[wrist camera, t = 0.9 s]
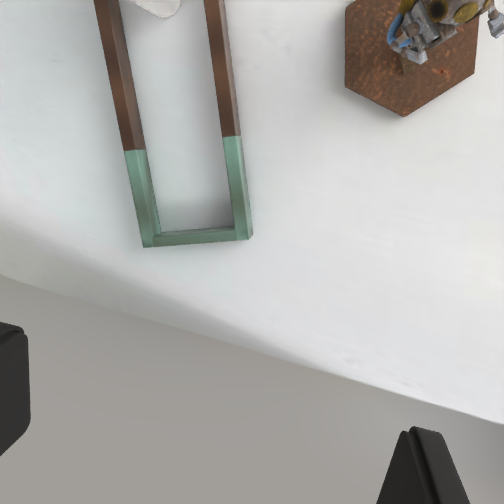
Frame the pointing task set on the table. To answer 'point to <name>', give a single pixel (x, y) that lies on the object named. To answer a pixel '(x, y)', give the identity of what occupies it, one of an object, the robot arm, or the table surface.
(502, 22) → the robot figurine
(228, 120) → the slide track
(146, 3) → the milkshake
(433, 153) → the table surface
